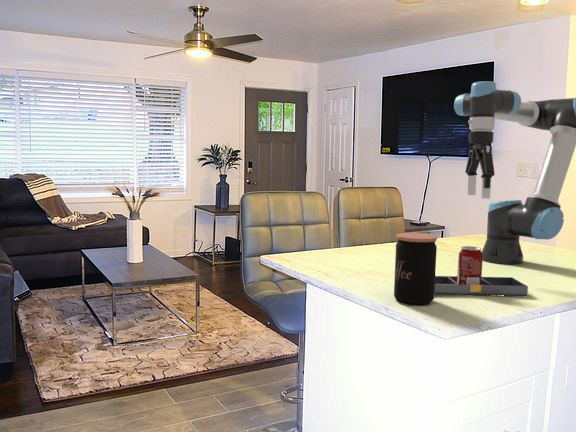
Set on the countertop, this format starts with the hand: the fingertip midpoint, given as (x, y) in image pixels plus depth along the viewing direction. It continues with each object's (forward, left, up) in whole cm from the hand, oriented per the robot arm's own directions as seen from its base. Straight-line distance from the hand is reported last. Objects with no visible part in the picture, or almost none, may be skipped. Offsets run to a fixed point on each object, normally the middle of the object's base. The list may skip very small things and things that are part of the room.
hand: (477, 196), depth 181 cm
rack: (+8, +21, -26) cm, 34 cm away
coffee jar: (+27, +34, -27) cm, 51 cm away
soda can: (+8, +21, -26) cm, 34 cm away
